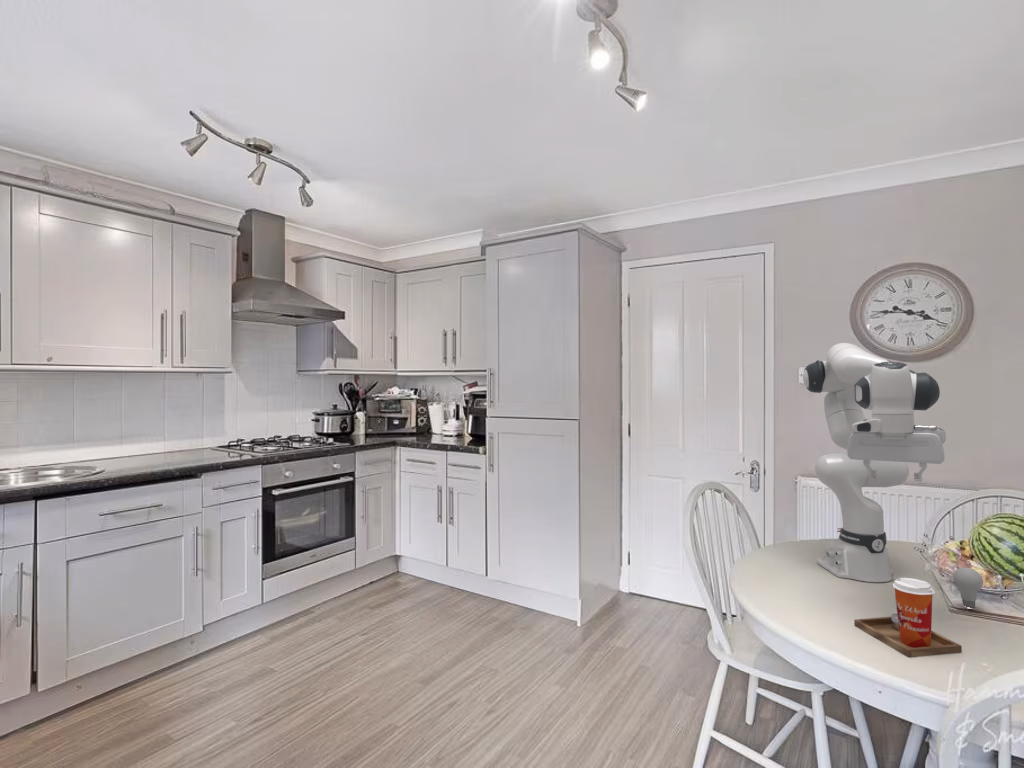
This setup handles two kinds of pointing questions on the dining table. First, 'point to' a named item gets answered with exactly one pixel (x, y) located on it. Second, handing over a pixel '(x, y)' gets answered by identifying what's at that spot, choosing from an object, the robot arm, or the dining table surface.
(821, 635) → the dining table surface
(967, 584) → the lightbulb
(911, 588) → the paper cup
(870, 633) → the tray
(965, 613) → the dining table surface
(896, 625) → the part
